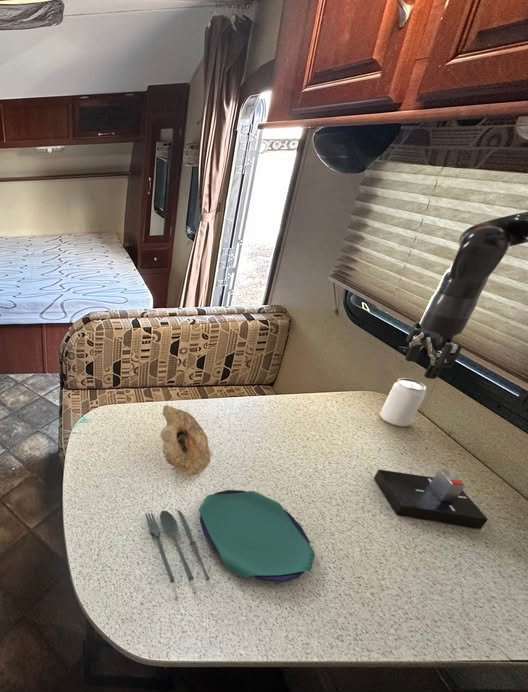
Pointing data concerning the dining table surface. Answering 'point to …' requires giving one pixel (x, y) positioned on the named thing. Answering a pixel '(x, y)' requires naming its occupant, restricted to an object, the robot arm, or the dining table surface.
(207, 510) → the cutlery set
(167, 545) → the dining table surface
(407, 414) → the can
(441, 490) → the stove knob
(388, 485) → the stove
